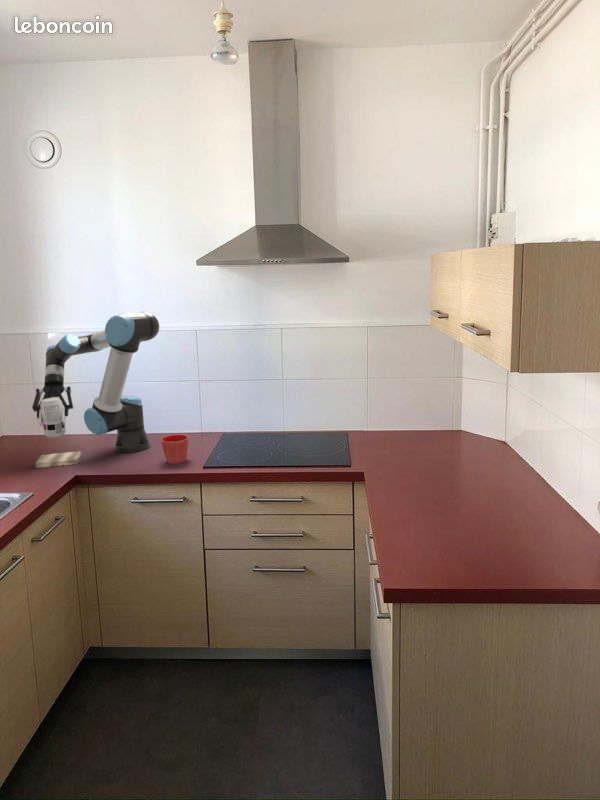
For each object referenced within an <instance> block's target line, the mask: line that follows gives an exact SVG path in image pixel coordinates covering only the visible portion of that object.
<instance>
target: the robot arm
mask: <svg viewBox="0 0 600 800" xmlns="http://www.w3.org/2000/svg"><path fill="white" fill-rule="evenodd" d="M159 333H160V323H159V320H158V318H157V317H156V316H155V315H154V314H153V313H151V312H147V311H139V312H131V313H119V314H116V315H113V316H111V317H110V318H109V319H108V320H107V322H106V323H105V327H104V330H100V331H97V332H95V333H91V334H88V335H82V336H76V335H75V334H71V333H67V334H65V335H64V336H63V337H61V339H59V341H58V342H57V343H56V344H52V345H50V346H48V347H47V348H46V353H45V368H44V369H45V371H44V386H43V388H40V389H39V388H35V393H36V394H35V397H34V401H33V403H32V407H31V408H32V410H33V412H34V413H35V412H36V417H37V419H38V424H39V426H40V427H43V420H42V413H41V405H40V404H41V402H42V400H43V399H47V398H60V400H61V401H62V406H63V410H62V422H63V425H64V424H65V425H66V417H69V410H73V409H74V404H73V399H72V388H71V386H70V385H69V386H65V385H64V383H65V381H64V380H65V378H64V377H65V363H66V362H67V361H68V360H69V359H70V358H71V357H72V356H76V355H78V356H79V355H83V354H87V353H88V354H90V353H96V352H100V351H102V350H104V349H107V348H110V350H109V355H108V359H107V362H106V366H105V371H104V375H103V377H102V378H103V379H102V382H101V386H100V390H99V394H98V396H96V397H95V398H94V399H93V402H92V406H91V407H88V408H87V409H85V410H84V413H83V419H84V420H83V421H84V424H85V425H86V428H87V429H88V430H89V432H91V433H92V434H94V435H96V436H100V435H105V434H107V433H110V432H114V431H116V436H115V441H114V450H115V452H117V453H135V452H141V451H143V450H144V451H145V450H147V449H149V448H150V447H151V442H150V438H149V437H148V434H147V432H146V429H145V423H144V409H143V408H144V407H143V404H142V402H143V401H142V399H141V397H139V396H135V395H134V396H133V395H132V396H131V395H123V391H124V388H125V384H126V380H127V377H128V374H129V373H128V372H129V370H130V366H131V363H132V362H131V361H132V358H133V354H135V353H137V352H138V351H139V347H140V344H141V343H142V342H143V343H144V342H147V341H150V340H153V339H154V338H155V337H156V336H157V335H158V334H159ZM64 392H65V393H66V396H67V401H68V404H67V402H66V400H65V399H64V397H63V395H62V394H63V393H64ZM43 393H44V395H43ZM42 395H43V397H42ZM41 398H42V399H41Z"/></svg>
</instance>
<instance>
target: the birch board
mask: <svg viewBox="0 0 600 800" xmlns="http://www.w3.org/2000/svg"><path fill="white" fill-rule="evenodd" d="M80 457H82V451H70V452H69V451H68V452H58V453H49V454H41V455H40V456H39V457H38V459H37V460H36V462H35V464H34V465H35V469H42V468H43V469H44V468H52V467H51V466H53V467H60V466H61V467H62V465H64V466H72V465H73V464H74V465H78V464H79V461H80V460H81V458H80ZM79 459H80V460H79ZM77 463H78V464H77Z"/></svg>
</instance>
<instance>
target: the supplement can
mask: <svg viewBox="0 0 600 800" xmlns="http://www.w3.org/2000/svg"><path fill="white" fill-rule="evenodd" d="M42 399H43V398H42ZM42 399H41V400H42ZM40 402H41V401H40ZM39 404H40V403H39ZM40 405H41V413H42V420H43V422H42V427H43V428H42V429H43V433H44V436H46V438H58V437H61V436H64V435H65V434H66V423H65V424H64V425H63V422H62V410H63V408H64V406H63V404H62V401H61V400H60V398H59V397H52V398H47V399H43V400H42V402H41V404H40Z"/></svg>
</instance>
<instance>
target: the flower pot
mask: <svg viewBox="0 0 600 800" xmlns="http://www.w3.org/2000/svg"><path fill="white" fill-rule="evenodd" d="M160 443H161V446H162V450H163V453H164V456H165V459H166V462H167V463H168V464H173V465H174V464H181V463H184V462H186V461H187V458H188V457H187V455H188V446H189V436H188V435H185V434H170V435H167V436H163V437H161V439H160Z"/></svg>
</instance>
